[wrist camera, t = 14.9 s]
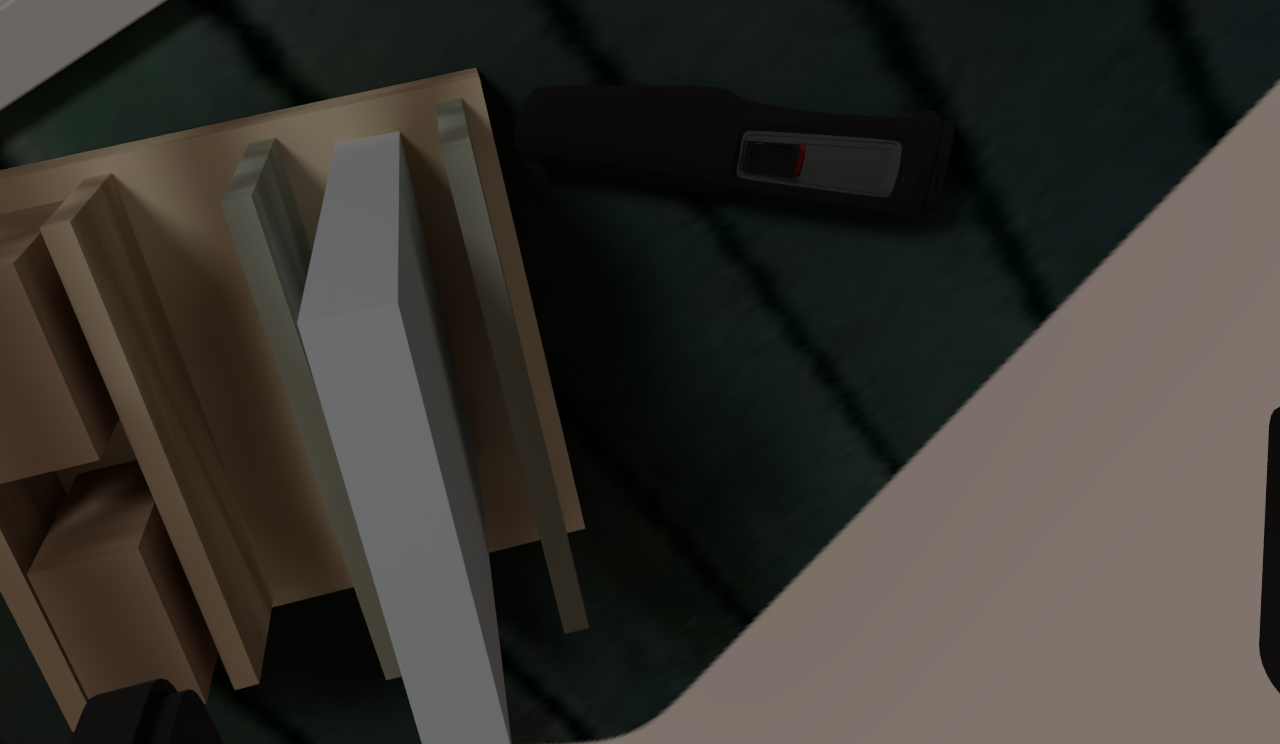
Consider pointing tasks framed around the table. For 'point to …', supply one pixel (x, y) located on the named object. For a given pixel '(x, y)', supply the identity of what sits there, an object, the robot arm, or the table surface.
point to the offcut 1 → (44, 361)
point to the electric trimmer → (738, 146)
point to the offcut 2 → (121, 589)
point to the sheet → (404, 440)
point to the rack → (279, 357)
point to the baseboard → (55, 37)
